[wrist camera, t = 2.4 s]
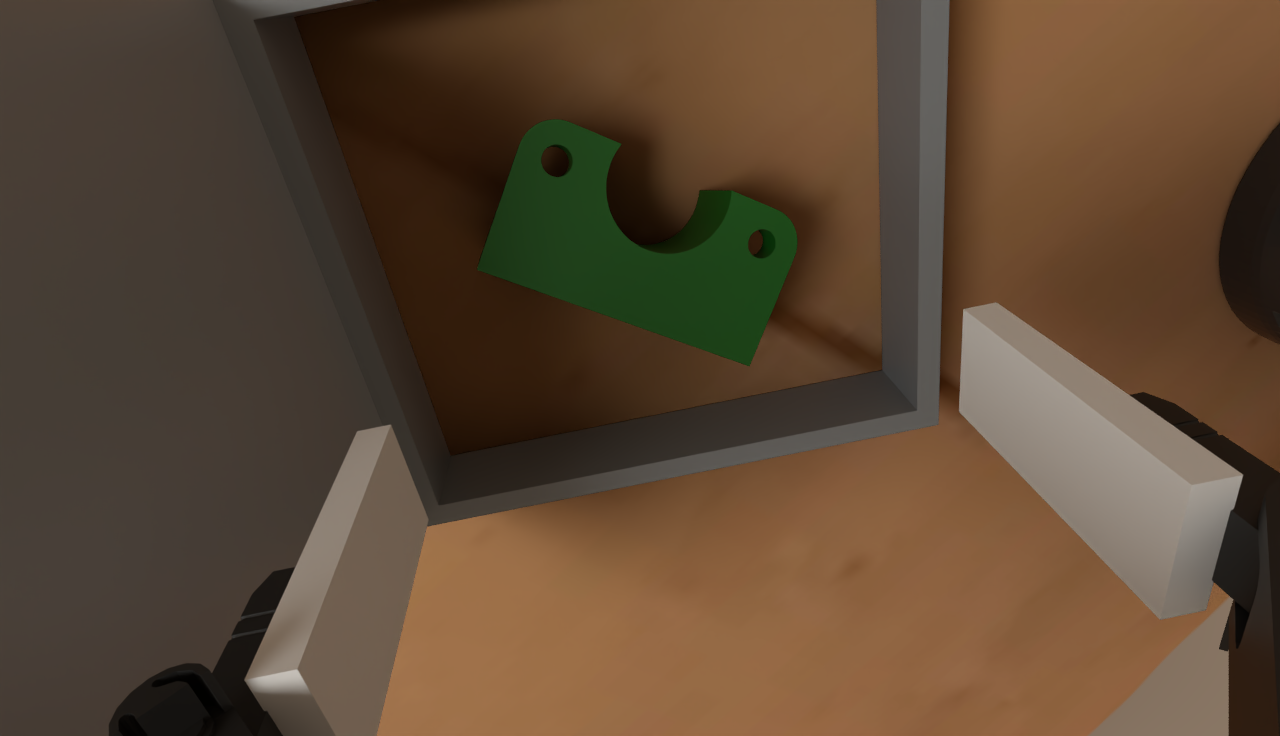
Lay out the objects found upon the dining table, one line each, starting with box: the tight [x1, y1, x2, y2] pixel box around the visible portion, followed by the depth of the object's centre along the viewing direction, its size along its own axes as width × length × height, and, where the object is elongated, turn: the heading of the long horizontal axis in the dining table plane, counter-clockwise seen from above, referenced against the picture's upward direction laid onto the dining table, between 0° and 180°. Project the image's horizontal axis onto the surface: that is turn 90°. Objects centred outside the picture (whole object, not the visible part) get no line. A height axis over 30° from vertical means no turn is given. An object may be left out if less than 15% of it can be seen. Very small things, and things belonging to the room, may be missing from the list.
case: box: [0, 0, 950, 736], centre depth 21 cm, size 25×22×23 cm
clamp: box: [477, 119, 797, 366], centre depth 29 cm, size 12×6×9 cm, turn 61°
